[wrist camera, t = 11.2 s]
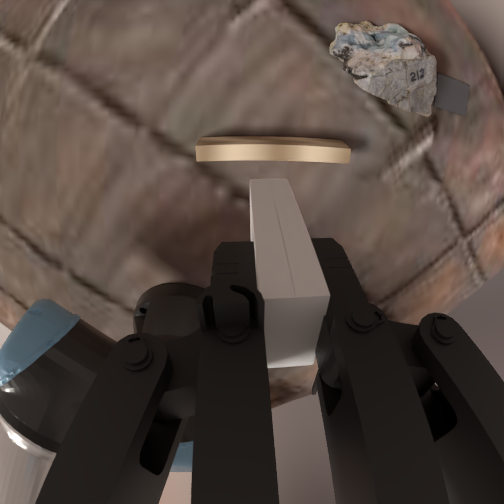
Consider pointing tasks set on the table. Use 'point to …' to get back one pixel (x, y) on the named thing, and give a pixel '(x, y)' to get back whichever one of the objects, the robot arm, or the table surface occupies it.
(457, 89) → the dark gray rectangular slab
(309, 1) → the table surface
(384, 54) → the mineral specimen
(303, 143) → the wooden slats
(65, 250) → the table surface
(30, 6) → the table surface
